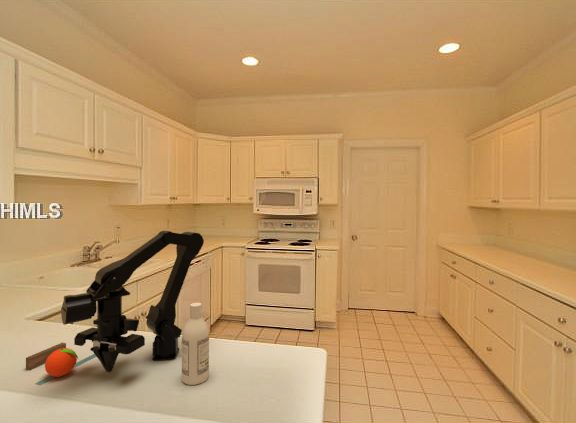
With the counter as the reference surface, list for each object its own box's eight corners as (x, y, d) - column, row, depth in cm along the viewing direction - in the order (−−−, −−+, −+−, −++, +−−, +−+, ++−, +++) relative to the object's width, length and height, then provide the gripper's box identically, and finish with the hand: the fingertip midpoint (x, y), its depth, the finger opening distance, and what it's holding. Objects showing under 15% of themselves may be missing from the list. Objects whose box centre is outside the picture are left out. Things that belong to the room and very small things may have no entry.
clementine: (85, 368, 84) (87, 343, 84) (68, 383, 77) (70, 356, 77) (57, 366, 84) (58, 341, 84) (37, 381, 77) (38, 354, 77)
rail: (66, 354, 92) (66, 343, 92) (29, 371, 83) (29, 358, 83) (62, 353, 93) (62, 342, 93) (25, 370, 83) (25, 357, 83)
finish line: (102, 353, 93) (102, 352, 93) (40, 386, 76) (40, 385, 76) (97, 352, 94) (97, 351, 94) (34, 384, 76) (34, 383, 76)
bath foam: (210, 370, 84) (211, 299, 83) (206, 385, 77) (206, 308, 76) (185, 371, 83) (185, 300, 83) (178, 386, 76) (179, 308, 76)
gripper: (159, 308, 85) (159, 362, 86) (108, 301, 91) (108, 352, 91) (128, 322, 75) (127, 383, 75) (72, 314, 80) (72, 371, 80)
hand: (109, 371), depth 81 cm, fingers closed
